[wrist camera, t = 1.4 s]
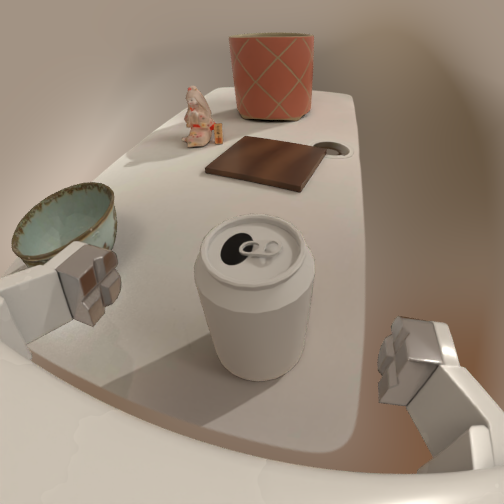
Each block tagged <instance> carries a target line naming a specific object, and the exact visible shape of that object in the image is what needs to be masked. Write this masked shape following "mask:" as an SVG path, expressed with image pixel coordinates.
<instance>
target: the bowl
mask: <svg viewBox="0 0 504 504" xmlns="http://www.w3.org/2000/svg"><path fill="white" fill-rule="evenodd" d="M116 232H117V217H116V210H115V206H114V193H113V191H112V190H111V188H110V187H108V186H106V185H104V184H102V183H95V182H90V183H81V184H77V185H73V186H70V187H68V188H64V189H63V190H60V191H58V192H56V193H54V194H52V195H50V196H48V197H47V198H45V199H44V200H42V201H41V202H40V203H38V204H37V205H36V206H34V207H33V208H32V209H31V210H30V211H29V212H28V213H27V214H26V215H25V216H24V218H23V219H22V220H21V221H20V222H19V224H18V226H17V228H16V230H15V232H14V235H13V238H12V250H13V252H14V253H15V254H16V255H17V256H18V257H20V258H21V259H22V261H23V262H24V263H25V264H26V265H27V266H28V267H29V268H31V267H34V266H37V265H44V264H46V263H47V262H48V261H49V260H51V259H52V258H53V257H54V256H56V255H57V254H58V253H59V252H61V251H62V250H63V249H64V248H66V247H67V246H68V245H70V244H71V243H72V242H74V241H80V242H83V243H87V244H91V245H94V246H97V247H101V248H104V249H107V250H112V248H113V245H114V243H115V238H116Z"/></svg>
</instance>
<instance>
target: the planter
mask: <svg viewBox="0 0 504 504" xmlns="http://www.w3.org/2000/svg"><path fill="white" fill-rule="evenodd" d="M229 44H230V52H231V62H232V70H233V78H234V86H235V95H236V103H237V109H238V111H239V113H240V114H241V116H242V118H244V119H265V120H292V121H298V120H299V119H300V118H301V117H302V116H303V115H304V114H306V113H308V112H309V111H310V109H311V97H312V77H313V54H314V36H313V35H310V34H300V33H253V34H242V35H234V36H230V37H229Z"/></svg>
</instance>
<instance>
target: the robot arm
mask: <svg viewBox="0 0 504 504" xmlns="http://www.w3.org/2000/svg"><path fill="white" fill-rule="evenodd" d="M117 265H118V261H117V256H116V254H115V253H114V252H113V251H111V250H107V249H104V248H101V247H97V246H94V245H91V244H87V243H83V242H80V241H74V242H72V243H71V244H70V245H68V246H67V247H66V248H64V249H63V250H62V251H61V252H59V253H58V254H57V255H56V256H54V257H53V258H52V259H51V260H49V261H48V262H47V263H46V264H44V265H37V266H34V267H31V268H28V269H25V270H22V271H19V272H16V273H13V274H10V275H7V276H4V277H1V278H0V504H504V412H503V411H502V410H501V409H500V407H499V406H498V405H497V404H496V403H495V402H494V400H493V399H492V398H491V397H490V396H489V394H488V393H487V392H486V391H485V390H484V389H483V387H482V386H481V385H480V384H479V383H478V382H477V381H476V380H475V378H474V377H473V376H472V375H471V374H470V373H469V372H468V371H467V369H466V368H465V367H460V364H459V360H458V357H457V353H456V350H455V346H454V343H453V340H452V336H451V333H450V330H449V327H448V325H447V324H446V323H441V322H435V321H425V320H419V319H414V318H408V317H402V316H397V317H396V319H395V320H394V322H393V324H392V326H391V331H392V334H391V335H389V336H388V337H386V338H385V339H384V341H383V343H382V345H381V348H380V352H379V355H378V371H379V373H381V375H382V378H381V380H380V381H379V383H378V390H379V403H384V404H392V405H399V406H407V407H406V409H407V411H408V413H409V414H410V416H411V418H412V420H413V421H414V423H415V425H416V427H417V428H418V430H419V432H420V434H421V436H422V438H423V439H424V441H425V443H426V445H427V447H428V449H429V451H430V452H431V454H432V456H433V459H431V460H430V461H428V462H427V463H426V464H424V465H423V466H421V467H420V468H419V469H418V470H417V474H381V473H363V472H350V471H340V470H331V469H323V468H315V467H309V466H303V465H297V464H291V463H285V462H280V461H275V460H270V459H266V458H261V457H257V456H253V455H248V454H244V453H240V452H237V451H233V450H229V449H225V448H221V447H218V446H215V445H212V444H208V443H205V442H202V441H199V440H196V439H193V438H190V437H187V436H184V435H181V434H178V433H175V432H173V431H170V430H167V429H165V428H162V427H159V426H156V425H154V424H152V423H149V422H147V421H144V420H142V419H140V418H137V417H135V416H133V415H130V414H128V413H126V412H123V411H121V410H119V409H117V408H115V407H112V406H111V405H109V404H106V403H104V402H102V401H100V400H98V399H96V398H94V397H92V396H90V395H88V394H86V393H85V392H83V391H81V390H79V389H77V388H75V387H73V386H72V385H70V384H68V383H66V382H65V381H63V380H61V379H59V378H58V377H56V376H54V375H53V374H51V373H49V372H48V371H46V370H44V369H43V368H41V367H40V366H38V365H37V364H35V363H33V362H32V361H30V360H31V359H32V354H31V352H30V350H29V348H28V346H27V344H29V343H31V342H33V341H34V340H36V339H38V338H40V337H42V336H44V335H46V334H47V333H49V332H51V331H53V330H55V329H57V328H59V327H61V326H62V325H64V324H66V323H68V322H70V321H72V320H73V319H75V320H77V321H80V322H82V323H85V324H87V325H90V326H92V327H93V326H94V325H95V324H96V323H97V322H98V320H99V319H100V318H101V317H102V316H103V315H104V313H105V307H106V306H109V305H111V304H113V303H114V302H115V300H116V299H117V298H118V296H119V293H120V290H121V277H120V275H119V273H118V272H117V270H116V269H115V268H116V266H117Z"/></svg>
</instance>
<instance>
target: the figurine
mask: <svg viewBox="0 0 504 504" xmlns="http://www.w3.org/2000/svg"><path fill="white" fill-rule="evenodd" d="M186 99H187V102H188V111H187V113H186V116H185V118H184V120H185V121H186V122H187V127H188V128H190V127H191V131H190V134H189V136H188V137H184V138H182V141H186V142H187V143H188V145H187V146H188V147H194V146H204V145H206V144H207V143H208V142H209V141H210V138H211V134H212V130H214V134H215V144H223V137H222V123H219V124H216V123H215V121H214V120H213V119H212V118H211V111H210V108H209V106H208V104H207V102H206V100H205V98H204V97H203V95H202V94H201V93H200V91H199V90H197V88H196V87H195V86H190V87H189V88H188V93H187V95H186Z"/></svg>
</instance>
